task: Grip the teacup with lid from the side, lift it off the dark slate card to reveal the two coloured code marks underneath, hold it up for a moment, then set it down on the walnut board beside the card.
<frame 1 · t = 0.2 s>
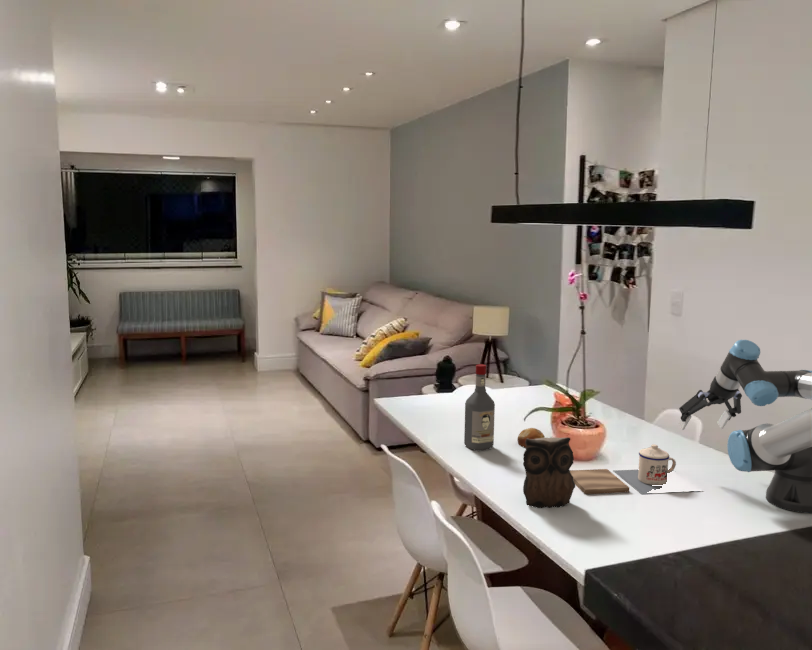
hand: (700, 426, 226), 15 cm above the table, tool tilted 35°, fingers open, 13 cm apart
owl: (546, 500, 202), on the table
walnut board: (596, 483, 216), on the table
teacup with lid: (656, 481, 219), resting on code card
bread roll: (532, 445, 253), on the table
liquor: (478, 447, 250), on the table
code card: (656, 480, 219), on the table
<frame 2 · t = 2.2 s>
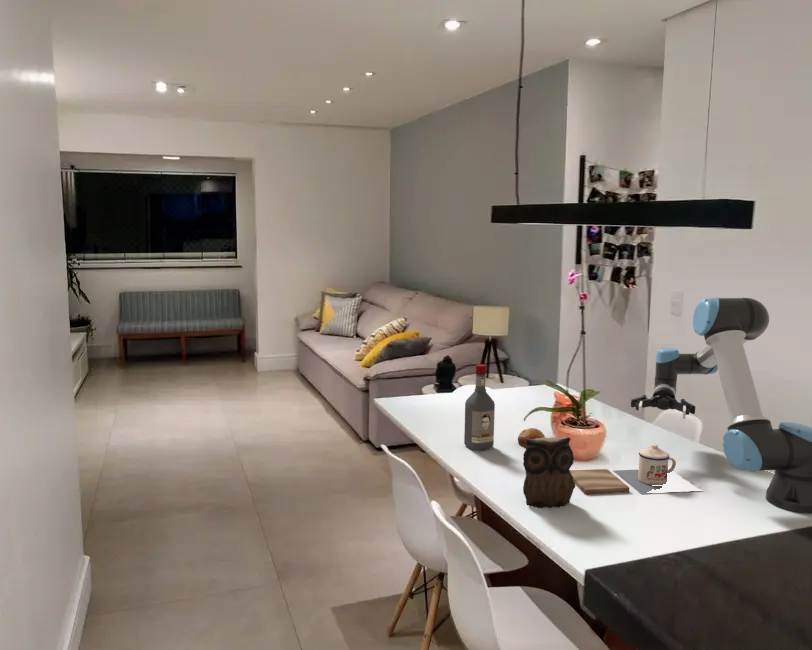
hand: (661, 412, 225), 20 cm above the table, tool horizontal, fingers open, 13 cm apart
nothing on the table moved.
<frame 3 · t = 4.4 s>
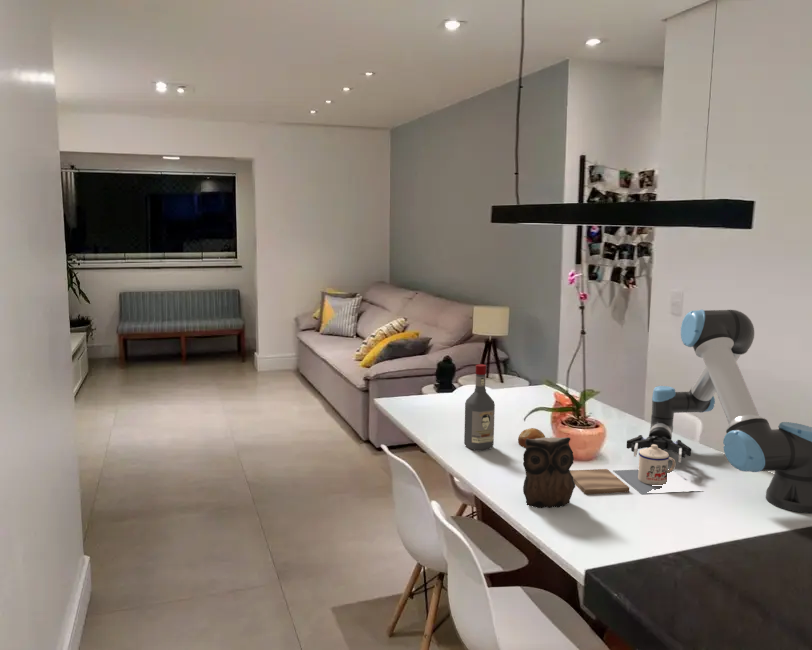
hand: (657, 455, 223), 6 cm above the table, tool horizontal, fingers open, 13 cm apart
nothing on the table moved.
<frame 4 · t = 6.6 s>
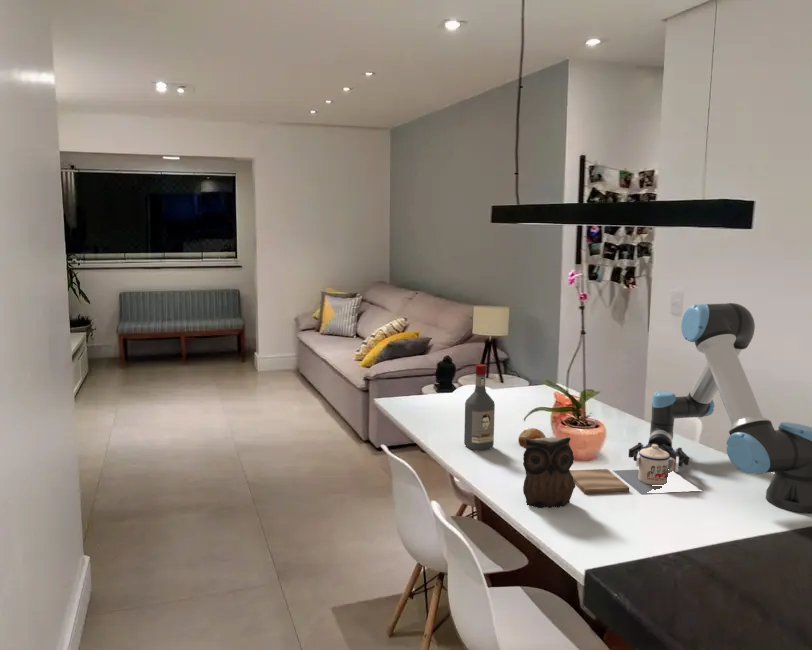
hand: (657, 464, 214), 7 cm above the table, tool horizontal, fingers closed on teacup with lid, 11 cm apart
teacup with lid: (656, 481, 219), resting on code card, touching gripper
everything else where it was.
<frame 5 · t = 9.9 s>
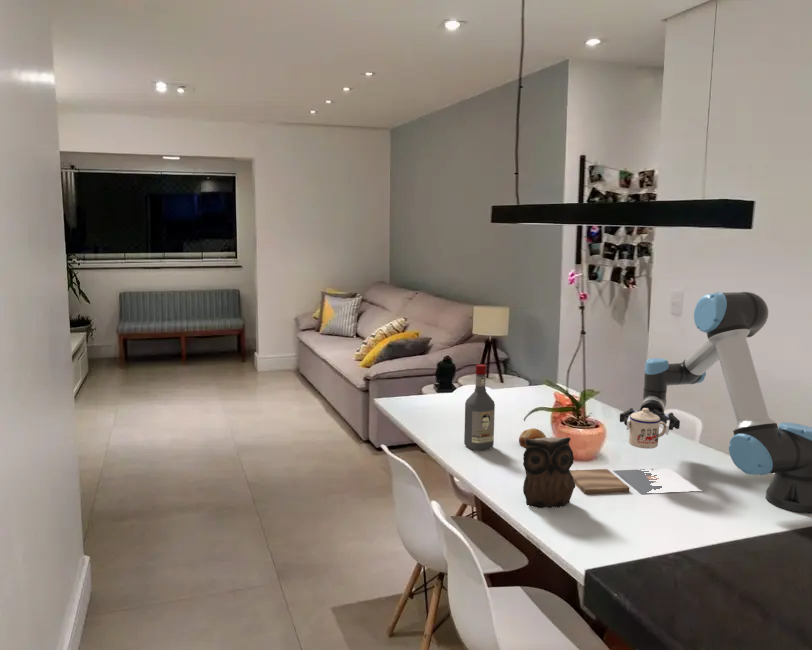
hand: (647, 427, 213), 18 cm above the table, tool horizontal, fingers closed on teacup with lid, 11 cm apart
teacup with lid: (647, 444, 217), point 12 cm above the table, touching gripper
everything else where it was.
when the fingers open (9 cm above the table, at t = 13.3 s): teacup with lid drops 1 cm, resting on walnut board.
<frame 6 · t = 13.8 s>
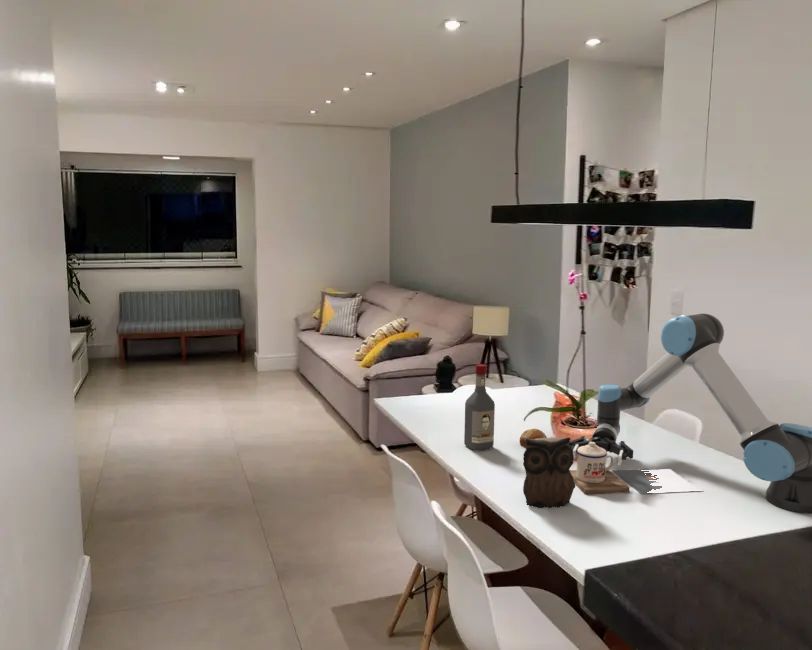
hand: (596, 457, 211), 9 cm above the table, tool horizontal, fingers open, 13 cm apart
teacup with lid: (594, 478, 216), point 1 cm above the table, touching walnut board
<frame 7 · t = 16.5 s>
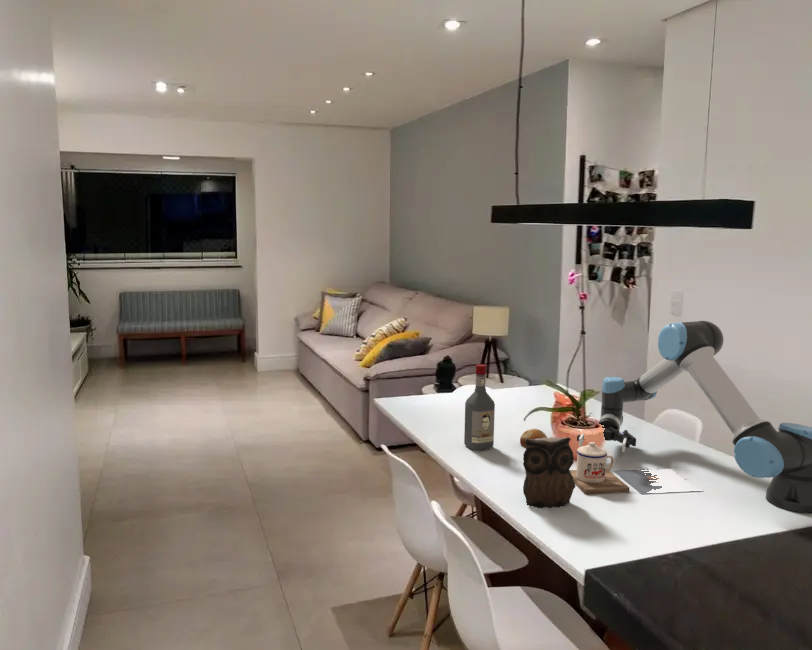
hand: (601, 445, 223), 9 cm above the table, tool horizontal, fingers open, 13 cm apart
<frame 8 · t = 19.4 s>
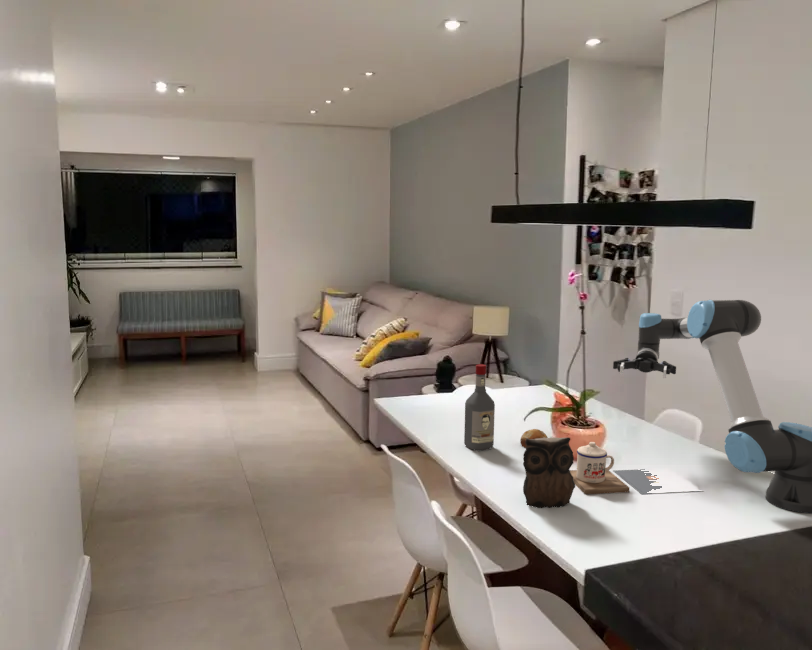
hand: (642, 372, 228), 32 cm above the table, tool horizontal, fingers open, 13 cm apart
at the end: teacup with lid inside the target area on the walnut board (0.6 cm from its centre), point 1.3 cm above the walnut board's base; teacup with lid tilted 0°; the gripper is holding nothing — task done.
